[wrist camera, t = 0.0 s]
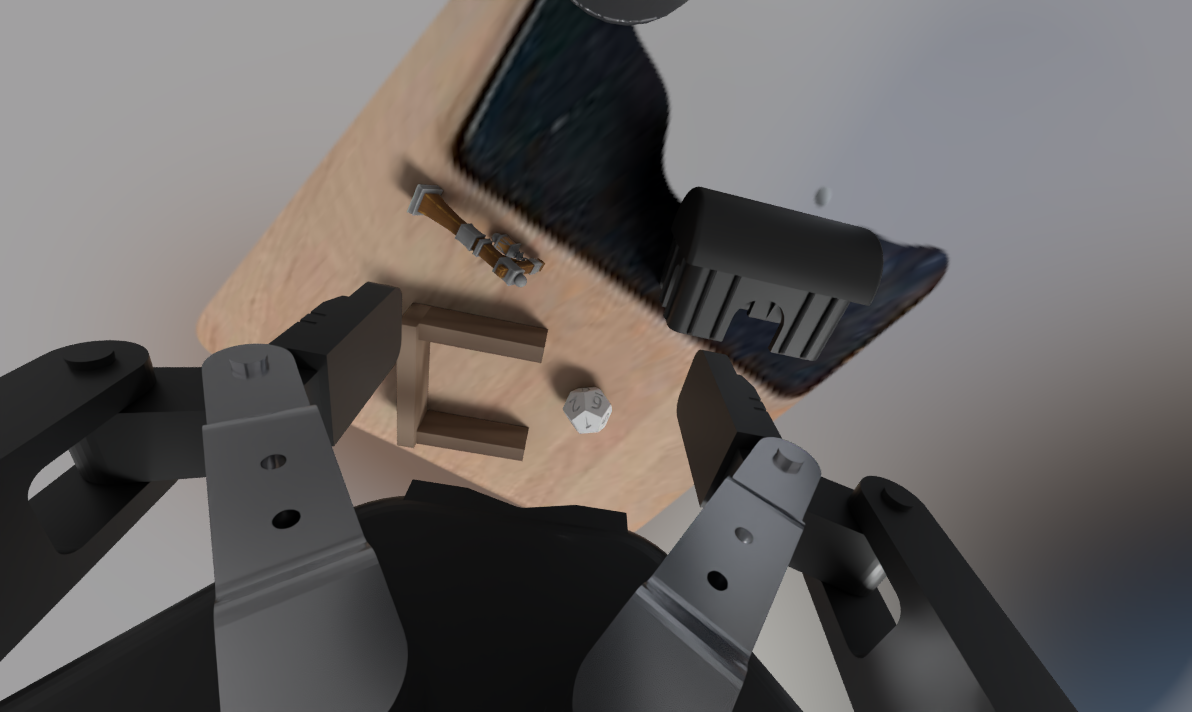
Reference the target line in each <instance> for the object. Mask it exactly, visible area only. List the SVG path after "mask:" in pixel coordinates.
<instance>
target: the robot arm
mask: <svg viewBox="0 0 1192 712" xmlns="http://www.w3.org/2000/svg"><path fill="white" fill-rule="evenodd" d="M687 1H688V0H571V2H573V3H574V4H575V5H577V6H578V7H579V8H581V9H582V10H583V11H585V12H586V13H587V14H589V15H591V16H593V17H596V18H598V19H600V20H603V21H605V22H607V23H614V24H621V25H636V24H644V23H649V22H651V21H654V20H656V19H659V18H662V17H664V16H667V15H668V14H670V13H671V12H673V11H674V10H676V9H677V8H678V7H680V6H682V5H683V4H685V3H686V2H687ZM401 341H402V293H401V290H400V288H398V287H393V286H388V285H383V284H378V283H373V282H367V283H365V284H364V285H363V286H361V287H360V288H359V289H358V290H357V291H355V292H354V293H353V294H352V295H351V296H349V297H348V296H340V297H337V298H334V299H331V300H328V301H325V302H323V303H322V304H320V305H319V306H318V307H316V308H315V309H314V310H312V311H311V314H307V315H306V316H305V317H303V318H302V319H301V320H300V322H297V323H295V324H294V325H293V326H291V327H290V328H289V329H287V330H286V331H285V332H284V333H282V334H281V335H280V336H278V337H277V338H276V339H274V340H273V341H272V342H270V343H269V344H245V345H238V346H233V347H229V348H226V349H223V350H221V351H218V352H216V353H214V354H212V355H211V356H210V357H208V358H207V359H206V360H205V361H204V363H203V365H202V367H159V368H158V367H153V366H152V362H151V359H150V356H149V353H148V351H147V349H145V348H144V347H143V346H141V345H138V344H136V343H132V342H127V341H114V340H106V341H91V342H84V343H79V344H74V345H69V346H66V347H63V348H59V349H56V350H53V351H51V352H49V353H47V354H44V355H42V356H40V357H39V358H37V359H35V360H33V361H31V362H29V363H27V364H25V365H23V366H21V367H19V368H17V369H15V370H13V371H11V372H10V373H7V374H6V375H4V376H2V377H0V661H1V660H2V659H3V658H4V657H5V656H6V655H7V654H8V653H9V652H10V651H11V650H12V649H13V648H14V647H15V646H16V645H17V644H18V643H19V642H20V641H21V640H22V639H23V638H24V637H25V636H26V635H27V634H28V633H29V632H30V631H31V630H32V629H33V628H34V627H35V626H36V625H37V624H38V622H40V621H41V620H42V618H43V617H44V616H45V615H46V614H47V613H48V612H49V611H50V610H51V609H52V608H53V607H54V606H55V605H56V604H57V603H58V602H59V601H60V600H61V599H62V598H63V597H64V596H65V595H66V594H67V593H68V592H69V591H70V590H71V589H72V588H73V587H74V586H75V585H76V584H77V583H78V582H79V581H80V580H81V578H83V577H84V576H85V574H87V573H88V571H89V570H90V569H91V568H92V567H93V566H94V565H95V564H96V563H97V562H98V561H99V560H100V559H101V558H102V557H103V556H104V555H105V554H106V553H107V552H108V551H109V550H110V549H111V548H112V547H113V546H114V545H115V544H116V543H117V542H118V541H119V540H120V539H121V538H122V537H123V536H124V535H125V534H126V533H127V532H128V531H129V529H131V528H132V527H133V526H134V524H136V523H137V521H138V520H139V519H140V518H141V517H142V516H143V515H144V514H145V513H146V512H147V511H148V510H149V509H150V508H151V507H152V506H153V505H154V504H155V503H156V502H157V501H158V500H159V499H160V498H161V497H162V496H163V495H164V494H165V493H166V492H167V491H168V490H169V489H170V488H171V487H172V485H174V484H175V483H176V482H177V480H178V479H187V478H200V477H206V480H207V492H208V504H209V515H210V516H209V517H210V529H211V541H212V553H213V565H214V577H215V582H214V583H212V584H210V585H209V586H207V587H205V588H203V589H201V590H200V591H198V592H196V593H194V594H192V595H191V596H189V597H187V598H185V599H184V600H182V601H180V602H178V603H176V604H174V605H173V606H171V607H169V608H167V609H165V610H164V611H162V612H160V613H158V614H156V615H155V616H153V617H151V618H149V619H147V620H146V621H144V622H142V623H140V624H139V625H137V626H135V627H133V628H131V629H129V630H128V631H126V632H124V633H122V634H120V635H119V636H117V637H115V638H113V639H111V640H110V641H108V642H106V643H104V644H102V645H101V646H99V647H97V648H95V649H93V650H92V651H90V652H88V653H86V654H84V655H83V656H81V657H79V658H77V659H75V660H74V661H72V662H70V663H68V664H67V665H65V666H63V667H61V668H59V669H57V670H56V671H54V672H52V673H50V674H48V675H47V676H45V677H43V678H41V679H39V680H38V681H36V682H34V683H32V684H30V685H29V686H27V687H25V688H23V689H21V690H20V691H18V692H16V693H14V694H12V695H11V696H9V697H7V698H5V699H3V700H2V701H0V712H803V711H802V710H801V708H799V706H798V705H797V704H796V703H795V702H794V700H793V699H792V698H791V697H790V696H789V694H788V693H787V692H786V691H785V690H784V689H783V687H782V686H781V685H780V684H779V683H778V682H777V681H776V679H775V678H774V677H773V676H772V674H771V673H770V672H769V671H768V670H767V669H766V667H765V666H764V665H763V664H762V663H761V662H760V660H759V659H758V658H757V657H756V656H755V655H754V653H753V652H752V650H753V648H754V645H755V643H756V641H757V639H758V636H759V634H760V631H761V629H762V627H763V624H764V622H765V620H766V617H767V615H768V612H769V610H770V608H771V605H772V603H773V601H774V598H775V596H776V593H777V591H778V588H779V586H780V584H781V582H782V579H783V577H784V574H785V572H786V570H787V567H788V566H789V567H791V568H793V569H796V570H798V571H800V572H802V573H803V576H804V579H805V582H806V584H807V587H808V590H809V592H810V594H811V597H812V600H813V603H814V605H815V608H816V611H817V614H818V616H819V619H820V622H821V624H822V627H823V630H824V632H825V635H826V638H827V640H828V643H829V646H830V648H831V651H832V654H833V656H834V659H835V662H836V664H837V667H838V670H839V672H840V675H841V678H842V680H843V683H844V685H845V688H846V691H847V693H848V696H849V699H850V701H851V704H852V707H853V709H854V712H1078V711H1077V710H1076V708H1075V707H1074V706H1073V704H1072V703H1071V702H1070V700H1069V699H1068V698H1067V696H1066V695H1065V693H1064V692H1063V691H1062V689H1061V688H1060V687H1059V685H1058V684H1057V683H1056V681H1055V680H1054V679H1053V677H1052V676H1051V675H1050V673H1049V672H1048V671H1047V669H1046V668H1045V667H1044V665H1043V664H1042V663H1041V661H1040V660H1039V658H1038V657H1037V656H1036V655H1035V653H1034V652H1033V651H1032V649H1031V648H1030V647H1029V645H1028V644H1027V642H1026V641H1025V640H1024V638H1023V637H1022V636H1021V634H1020V633H1019V632H1018V630H1017V629H1016V628H1015V626H1014V625H1013V624H1012V622H1011V621H1010V619H1009V618H1008V617H1007V615H1006V614H1005V613H1004V611H1003V610H1002V609H1001V607H1000V606H999V605H998V603H997V602H996V601H995V599H994V598H993V597H992V595H991V594H990V593H989V591H988V590H987V588H986V587H985V586H984V584H983V583H982V582H981V580H980V579H979V578H978V577H977V575H976V574H975V572H974V571H973V570H972V568H971V567H970V566H969V564H968V563H967V562H966V560H965V559H964V558H963V556H962V555H961V553H960V552H959V551H958V550H957V548H956V547H955V546H954V544H953V543H952V541H951V540H950V539H949V538H948V536H947V535H946V533H945V532H944V531H943V529H942V528H941V527H940V526H939V524H938V523H937V522H936V520H935V518H934V517H933V516H932V514H931V513H930V512H929V510H928V509H927V508H926V507H925V505H924V504H923V503H922V502H921V501H920V500H919V499H918V498H917V497H916V496H915V495H913V494H912V493H911V492H909V491H908V490H906V489H905V488H904V487H902V486H900V485H898V484H897V483H895V482H892V481H890V480H888V479H885V478H882V477H877V476H867V477H864V478H863V479H862V480H861V481H860V482H859V484H858V485H857V487H856V488H855V489H854V490H853V489H851V488H848V487H846V486H843V485H841V484H838V483H836V482H833V481H830V480H828V479H826V478H823V477H821V469H820V467H819V465H818V463H817V462H816V460H815V459H814V458H813V457H812V456H811V455H810V454H809V453H808V452H807V451H805V450H804V449H802V448H801V447H799V446H797V445H796V444H794V443H792V442H789V441H787V440H784V439H782V438H781V436H780V434H779V432H778V430H777V428H776V426H775V425H774V423H773V421H772V419H771V417H770V415H769V414H768V412H766V408H765V406H764V404H763V403H762V402H760V400H761V399H760V397H759V395H758V393H757V392H756V390H755V388H754V387H753V386H752V385H751V384H750V383H749V382H748V381H747V380H746V379H745V378H744V377H743V376H742V375H737V374H736V372H735V370H734V368H733V366H732V364H731V362H730V360H729V358H728V356H727V355H724V354H719V353H714V352H710V351H705V350H699V351H698V352H697V353H696V355H695V357H694V359H693V362H692V364H691V367H690V369H689V372H688V375H687V377H686V380H685V382H684V385H683V387H682V390H681V393H680V395H679V399H678V403H677V418H678V422H679V426H680V430H681V434H682V438H683V442H684V446H685V450H686V454H687V458H688V461H689V465H690V469H691V473H692V477H693V481H694V485H695V489H696V493H697V497H698V501H699V505H700V507H703V509H702V511H701V512H700V513H699V515H698V516H697V517H696V519H695V520H694V521H693V523H692V524H691V525H690V526H689V528H688V529H687V530H686V532H685V533H684V534H683V536H682V537H681V538H680V540H679V541H678V542H677V544H676V545H675V546H674V548H673V549H672V550H671V551H670V553H669V554H668V555H667V554H666V553H665V552H664V551H663V550H661V549H660V548H659V547H658V546H656V545H655V544H653V543H652V542H650V541H649V540H647V539H645V538H644V537H642V536H640V535H638V534H636V533H634V532H631V531H629V530H628V528H627V515H626V513H624V512H617V511H611V510H605V509H598V508H592V507H586V506H579V505H567V506H550V507H532V508H521V507H516V506H513V505H510V504H508V503H505V502H503V501H500V500H497V499H495V498H492V497H490V496H487V495H484V494H482V493H479V492H477V491H474V490H471V489H469V488H464V487H458V486H452V485H445V484H439V483H433V482H426V481H420V480H412V482H411V484H410V486H409V489H408V491H407V493H406V495H405V496H398V497H391V498H384V499H379V500H375V501H371V502H367V503H364V504H361V505H358V506H355V507H353V504H352V502H351V499H350V496H349V493H348V490H347V488H346V485H345V483H344V480H343V477H342V474H341V471H340V468H339V465H338V463H337V460H336V457H335V454H334V452H333V449H332V446H335V444H336V443H337V442H338V440H339V439H340V438H341V436H342V435H343V434H344V432H345V431H346V430H347V428H348V427H349V426H350V424H351V423H352V421H353V420H354V419H355V417H356V416H357V415H358V413H359V412H360V411H361V409H362V408H363V407H364V405H365V404H366V403H367V401H368V400H369V399H370V397H371V396H372V395H373V393H374V392H375V390H376V389H377V388H378V386H379V385H380V384H381V382H382V381H383V380H384V378H385V377H386V376H387V374H388V373H389V372H390V370H391V369H392V368H393V366H394V365H395V363H396V361H397V359H398V357H399V353H400V349H401ZM67 450H69V452H70V454H71V456H72V458H73V460H74V463H75V465H74V466H72V467H71V468H70V469H69V470H67V471H66V472H65V473H63V474H62V475H61V476H60V477H58V478H57V479H56V480H54V481H53V482H52V483H51V484H49V485H48V486H47V487H45V488H44V489H43V490H41V491H40V492H39V493H38V494H36V495H35V496H34V497H32V498H31V499H30V500H29V501H28V490H29V487H30V485H31V482H32V481H33V479H34V478H35V476H36V475H37V474H38V473H39V472H40V471H41V470H42V469H43V468H44V467H45V466H47V465H48V464H49V463H50V462H52V461H53V460H55V459H56V458H57V457H59V456H60V455H62V454H63V453H64V452H66V451H67ZM886 576H887V577H888V579H889V581H890V583H891V585H892V586H893V588H894V590H895V592H896V594H897V596H898V598H899V601H900V606H901V615H900V619H899V622H898V624H897V625H896V623H895V621H894V619H893V617H892V615H891V613H890V611H889V610H888V608H887V606H886V604H885V602H884V600H883V598H882V596H881V594H880V592H879V590H878V588H877V586H878V585H879V584H880V583H881V582H882V581H883V579H884V578H885V577H886Z"/></svg>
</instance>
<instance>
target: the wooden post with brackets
mask: <svg viewBox="0 0 1192 712" xmlns="http://www.w3.org/2000/svg"><path fill="white" fill-rule="evenodd" d="M442 192H443V190H442V189H441V188H440V187H439V186H438V185H421V184H418V186H417V188H416V191H415V193H414V195H413V198H412V200H411V203H410V205H409V208H408V210H407V212H409V213H411V214H412V215H426V216H428V217H429V218H431V219H432V220H434V221H436V222H437V223H439V224H440V225H442V226H444V227H445V228H447V229H448V230H449V231H451V232H452V233H453V234H455V235H456V237H455V239H457V240H459V241H460V242H461V243H462V244H463V245H464V246H466V248H467V249H468V250H469V251H472V250H473V253H472V254H474V255H475V256H476V257H478V256H480V257H481V258H482V259H483V260H485V261H486V262H487V263H488V264H489V265H490V266H491V267H493V268H494V269H493V270H492V272H494V273H495V274H496V275H497V276H499V277H500V278H501V279H502V280H504V281H505V282H506V284H507V285H508V286H510V285H514V284H515V285H516V286H518V287H523V286H525V285H526V283H527V279H526V277H525V276H524V275H523V274H527V273H528V274H529V275H531V274H535V273H536V272H538V271H541V269H542V268H543V266H544V264H545V263H544V262H543V261H542V260H540V259H539V258H538V259H534V258H529V259H528V258H526V257H525V258H524V257H523V254H524V252H522V253H520V252H521V251H519V248H520V246H521V243H518V244H515V243H514V242H513V241H512V240H511V239H510V238H509V237H508V236H507V234H504V235H500V234H499V233H494V234H493V235H492V241H491V240H490V239H485V236H486V235H484V234H482V233H481V232H480V231H478V230H477V229H476V228H475V227H474V226H473V225H472V223H471V224H467V223H466V222H465V221H464V220H462V219H461V218H460V217H459V216H458V215H457V214H456V213H455V212H454V211H453V210H452V209H451V208H450V207H449V206H448V205H447V204H446V203H445V201H444V200H443V199H442V198H441V194H442ZM492 242H494V243H495V244H494V246H493V245H492ZM497 249H498V250H499V251H500V252H502V253H503V254H505V255H502V254H501V253H500V252H499V251H498V250H497ZM513 258H516V259H513ZM522 258H523V259H522ZM525 259H527V260H526V261H525ZM519 260H521V261H519Z"/></svg>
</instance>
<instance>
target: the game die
mask: <svg viewBox="0 0 1192 712" xmlns="http://www.w3.org/2000/svg"><path fill="white" fill-rule="evenodd" d="M563 410H564V412H565V414H566V416H567V417H568V419H569V420H570V422H571V423H572V425H573V426H574V427H575V429H576V430H577V431H578V432H579V433H580V434H581V433H592V432H599V431H600V430H601V429H603V428H604V427H605V425H606V423H607V421H608V418H609V416H610V414H611V412H612V408H611V404H610V403H609V401H608V400H607V398H606V397H605V395H604V394H603V393H602V391H601V390H600V389H599V388H597V387H588V388H578V389H576V390H573V391H571V392H570V394H569V396H568V398H567V401H566V403H565V405H564V407H563Z"/></svg>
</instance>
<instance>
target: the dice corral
mask: <svg viewBox="0 0 1192 712" xmlns="http://www.w3.org/2000/svg"><path fill="white" fill-rule="evenodd" d="M547 332H548V329H543V328H538V327H533V326H528V325H523V324H518V323H513V322H508V321H503V320H498V319H493V318H488V317H483V316H478V315H473V314H468V313H463V312H458V311H453V310H448V309H443V308H438V307H433V306H428V305H423V304H418V303H412V305H411V306H410V307H409V308H408V310H407V311H406V312H405V313H404V315H403V316H402V341H401V349H400V353H399V357H398V359H397V445H398V446H404V447H410V448H414V447H415V445H416V443H417V444H423V445H429V446H435V447H441V448H447V449H453V450H459V451H465V452H471V453H477V454H483V455H489V456H495V457H501V458H507V459H513V460H519V461H522V460H523V455H524V450H525V445H526V439H527V434H528V429H529V428H527V427H521V426H516V425H510V424H504V423H498V422H493V421H487V420H481V419H476V418H470V417H464V416H458V415H453V414H447V413H441V412H436V411H430V410H427V406H428V380H429V354H430V342H434V343H439V344H444V345H449V346H455V347H460V348H465V349H470V350H476V351H481V352H486V353H491V354H496V355H502V356H507V357H512V358H517V359H523V360H528V361H533V362H538V363H541V362H542V357H543V352H544V347H545V342H546V337H547Z"/></svg>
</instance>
